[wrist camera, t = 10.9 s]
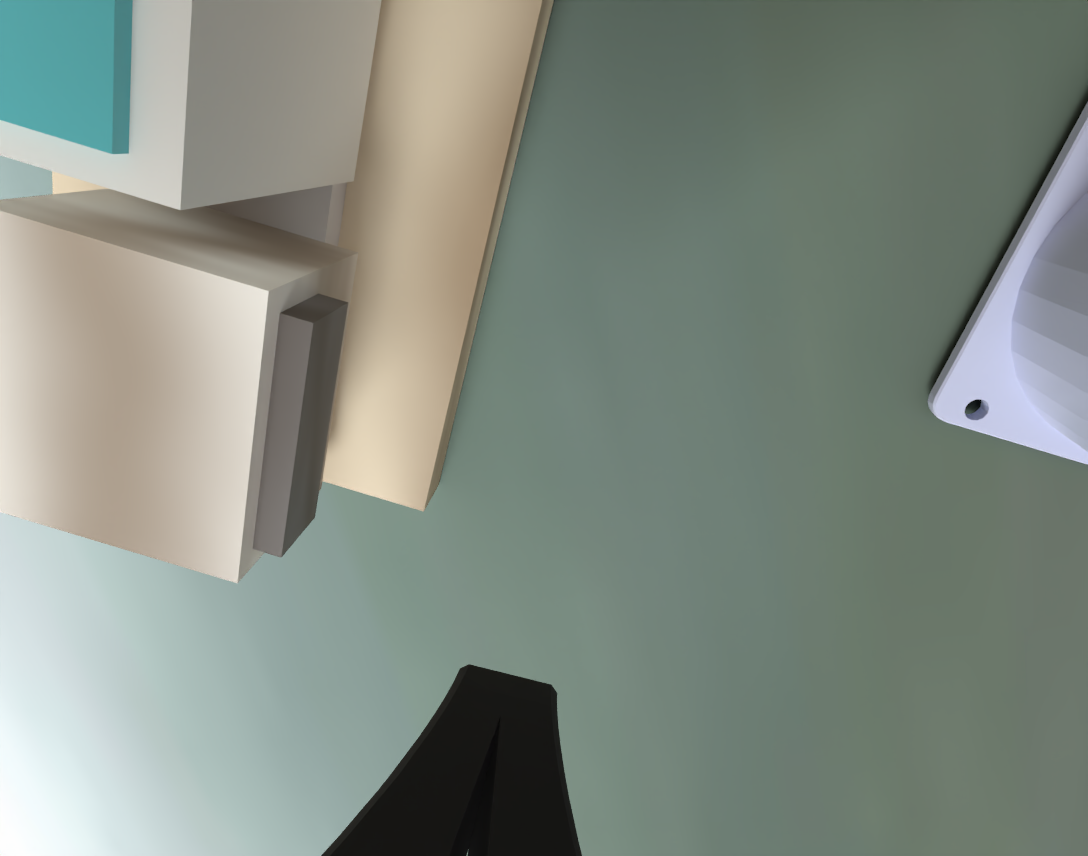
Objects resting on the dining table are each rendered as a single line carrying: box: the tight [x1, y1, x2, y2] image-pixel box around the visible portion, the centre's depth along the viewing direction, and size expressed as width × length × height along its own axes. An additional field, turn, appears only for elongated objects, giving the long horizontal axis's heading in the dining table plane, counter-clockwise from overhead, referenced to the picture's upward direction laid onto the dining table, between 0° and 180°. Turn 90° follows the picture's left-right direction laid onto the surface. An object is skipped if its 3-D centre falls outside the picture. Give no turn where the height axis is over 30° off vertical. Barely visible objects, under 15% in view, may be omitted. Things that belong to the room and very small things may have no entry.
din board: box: [0, 0, 554, 583], centre depth 13 cm, size 10×20×6 cm, turn 165°
